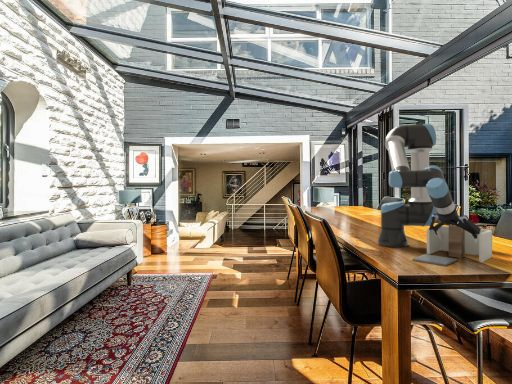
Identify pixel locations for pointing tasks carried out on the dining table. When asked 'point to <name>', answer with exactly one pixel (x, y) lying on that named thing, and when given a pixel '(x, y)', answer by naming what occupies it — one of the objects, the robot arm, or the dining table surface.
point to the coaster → (434, 259)
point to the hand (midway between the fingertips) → (458, 240)
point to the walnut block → (456, 241)
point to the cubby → (480, 249)
